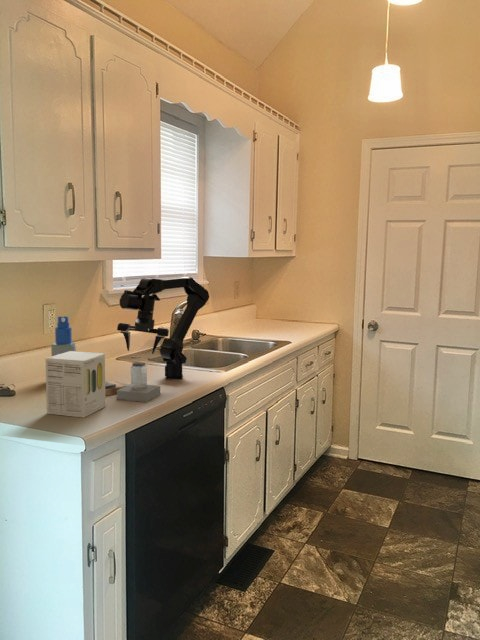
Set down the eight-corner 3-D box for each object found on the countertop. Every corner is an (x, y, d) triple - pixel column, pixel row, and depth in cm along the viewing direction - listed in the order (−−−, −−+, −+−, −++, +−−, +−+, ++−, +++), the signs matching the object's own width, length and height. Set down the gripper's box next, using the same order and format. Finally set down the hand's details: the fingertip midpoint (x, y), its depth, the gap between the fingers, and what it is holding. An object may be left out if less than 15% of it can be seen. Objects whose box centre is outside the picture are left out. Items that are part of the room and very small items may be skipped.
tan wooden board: (116, 386, 199) (116, 378, 198) (130, 390, 193) (130, 382, 193) (88, 392, 190) (88, 384, 189) (101, 396, 184) (101, 388, 184)
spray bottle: (76, 382, 204) (75, 317, 201) (51, 383, 201) (49, 317, 198) (76, 377, 212) (75, 314, 209) (52, 378, 210) (51, 315, 207)
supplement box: (84, 418, 160) (82, 360, 158) (45, 414, 164) (44, 357, 161) (106, 406, 173) (105, 353, 171) (70, 402, 176) (69, 350, 174)
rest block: (132, 391, 192) (132, 383, 191) (160, 394, 189) (160, 385, 188) (116, 399, 181) (116, 390, 181) (146, 402, 178) (146, 393, 178)
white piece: (136, 386, 187) (136, 361, 186) (146, 387, 186) (146, 362, 185) (131, 389, 183) (130, 363, 182) (141, 390, 182) (141, 364, 181)
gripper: (117, 307, 193) (111, 350, 193) (168, 314, 194) (163, 357, 194) (122, 308, 204) (117, 348, 204) (171, 314, 205) (165, 354, 205)
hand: (140, 352), depth 202 cm, fingers open, 9 cm apart
